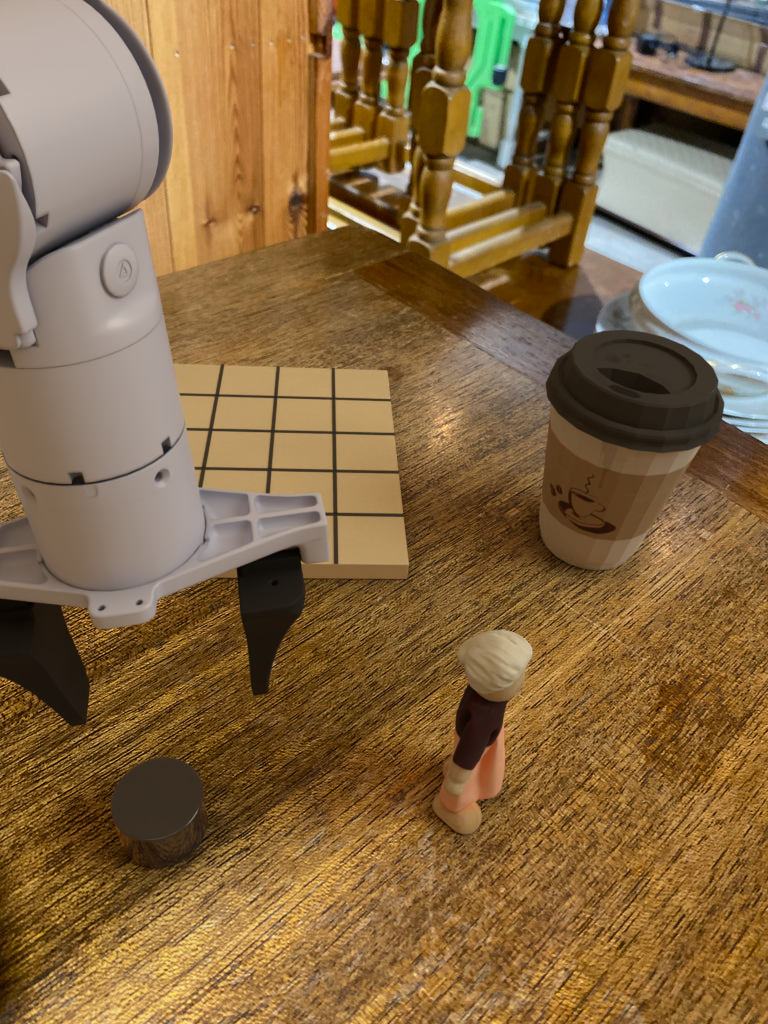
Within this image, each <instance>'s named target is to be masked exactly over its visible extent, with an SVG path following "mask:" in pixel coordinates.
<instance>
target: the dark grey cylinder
mask: <svg viewBox="0 0 768 1024" xmlns="http://www.w3.org/2000/svg"><path fill="white" fill-rule="evenodd" d="M205 797H206V796H205V791H204V786H203V782H202V779H201V776H200V775H199V774H198V772H197V770H196V769H195V768H194V767H192V766H191V765H190V764H189V763H187V762H185V761H183V760H181V759H178V758H175V757H155V758H150V759H147V760H145V761H142V762H140V763H138V764H137V765H135V766H133V767H132V768H131V769H130V770H128V771H127V772H126V773H125V774H123V776H122V777H121V778H120V780H119V781H118V782H117V784H116V785H115V788H114V790H113V792H112V795H111V800H110V814H111V815H110V816H111V819H112V821H113V825H114V827H115V830H116V833H117V836H118V840H119V843H120V845H121V848H122V850H123V852H124V853H125V855H126V856H127V858H129V859H130V860H131V861H133V862H134V863H135V864H137V865H140V866H142V867H145V868H149V869H164V868H169V867H172V866H175V865H178V864H179V863H181V862H182V861H184V860H186V859H187V858H189V857H190V856H191V855H193V853H194V852H195V851H196V850H197V849H198V847H200V845H201V843H202V842H203V839H204V838H205V835H206V832H207V830H208V823H209V822H208V821H209V818H208V810H207V804H206V798H205Z"/></svg>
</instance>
